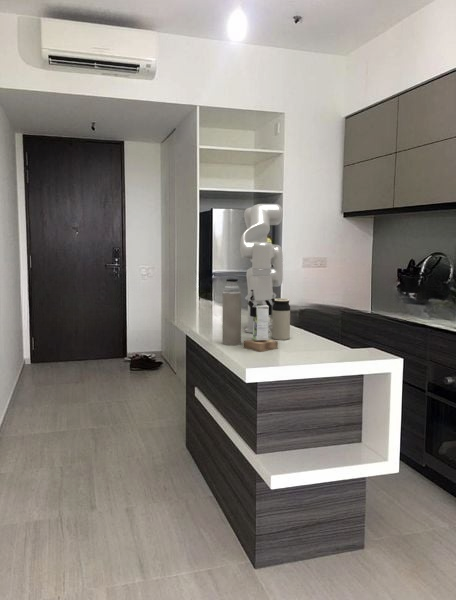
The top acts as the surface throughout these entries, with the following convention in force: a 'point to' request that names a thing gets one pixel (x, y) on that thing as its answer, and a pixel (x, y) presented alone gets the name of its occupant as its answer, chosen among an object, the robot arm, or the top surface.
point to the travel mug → (281, 319)
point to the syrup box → (261, 322)
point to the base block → (260, 345)
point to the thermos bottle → (231, 313)
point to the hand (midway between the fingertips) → (260, 315)
